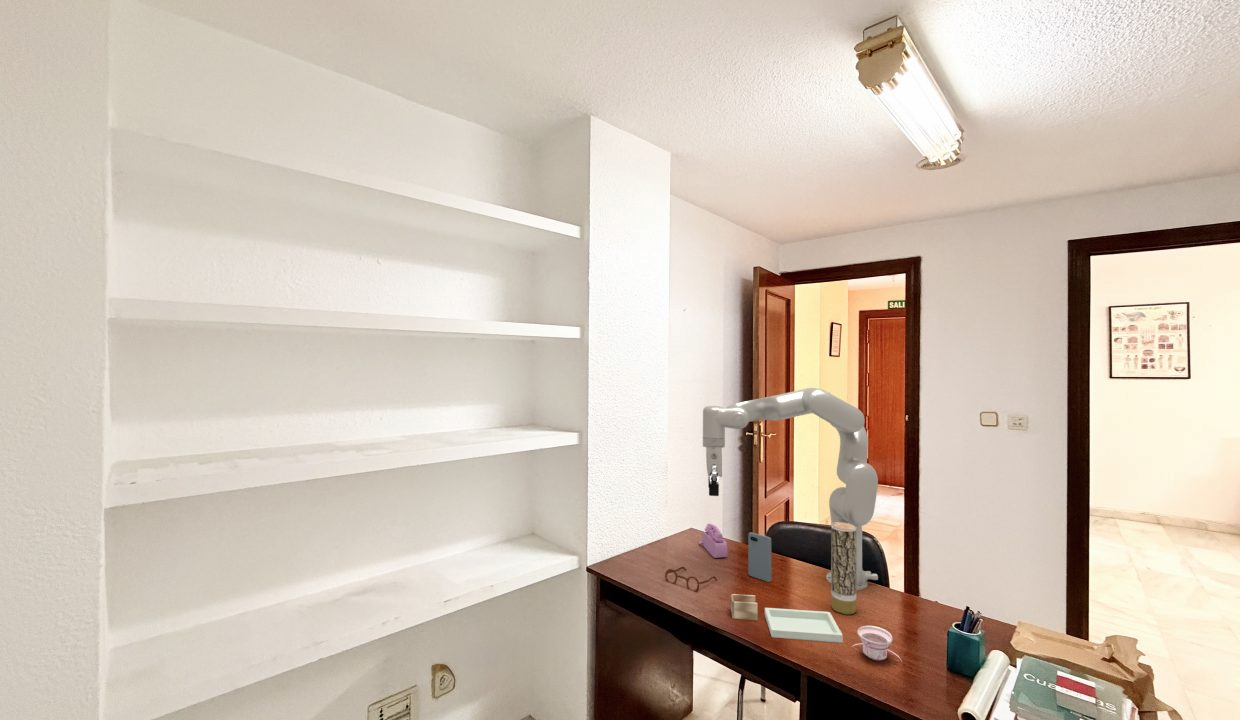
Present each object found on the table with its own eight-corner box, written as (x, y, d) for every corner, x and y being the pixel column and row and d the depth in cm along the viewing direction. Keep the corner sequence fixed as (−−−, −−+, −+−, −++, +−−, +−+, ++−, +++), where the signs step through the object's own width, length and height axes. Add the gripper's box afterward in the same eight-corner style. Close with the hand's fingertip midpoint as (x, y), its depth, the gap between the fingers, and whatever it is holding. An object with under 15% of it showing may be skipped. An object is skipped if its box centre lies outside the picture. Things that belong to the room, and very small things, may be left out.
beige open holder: (755, 613, 145) (755, 595, 145) (757, 622, 140) (757, 603, 140) (730, 612, 146) (730, 593, 146) (732, 621, 141) (732, 602, 141)
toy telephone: (729, 558, 185) (729, 532, 185) (713, 559, 184) (713, 533, 184) (712, 541, 203) (712, 517, 203) (697, 542, 202) (697, 518, 202)
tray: (829, 620, 141) (829, 611, 141) (842, 644, 129) (842, 635, 129) (764, 616, 143) (764, 607, 143) (771, 639, 131) (771, 630, 131)
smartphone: (771, 582, 165) (771, 537, 165) (770, 583, 165) (770, 538, 165) (749, 574, 171) (749, 531, 171) (747, 575, 170) (747, 532, 170)
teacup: (861, 640, 132) (861, 616, 132) (910, 660, 122) (910, 635, 122) (840, 657, 124) (840, 633, 124) (891, 681, 115) (891, 654, 115)
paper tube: (845, 617, 142) (845, 531, 142) (826, 607, 149) (826, 524, 149) (861, 612, 146) (861, 527, 146) (841, 602, 152) (841, 520, 152)
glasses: (664, 583, 166) (664, 568, 166) (685, 570, 175) (685, 556, 175) (698, 595, 157) (698, 579, 157) (718, 581, 167) (718, 566, 167)
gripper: (726, 446, 161) (725, 499, 161) (723, 438, 178) (723, 486, 178) (702, 446, 162) (702, 498, 162) (702, 438, 179) (702, 485, 179)
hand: (713, 491), depth 170 cm, fingers open, 9 cm apart
